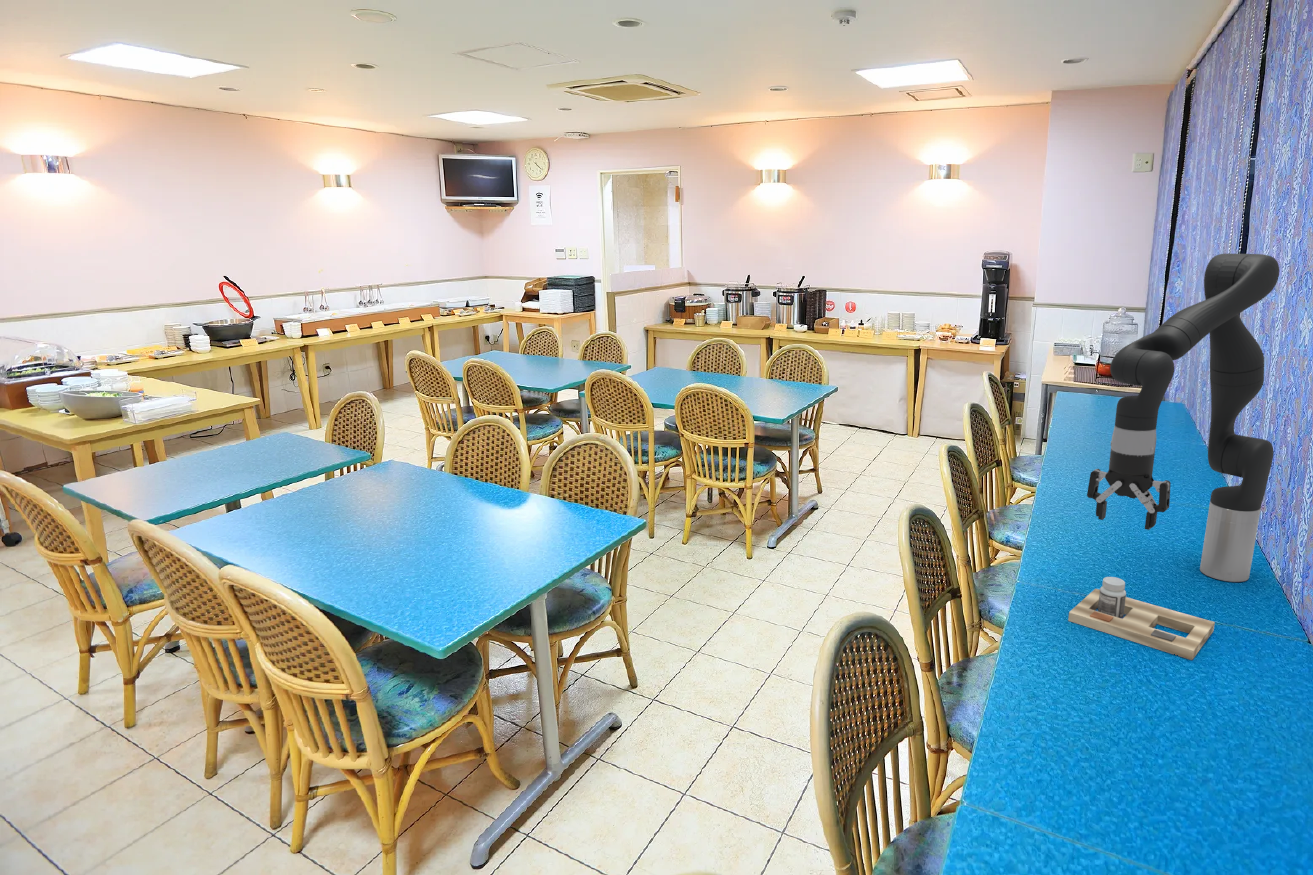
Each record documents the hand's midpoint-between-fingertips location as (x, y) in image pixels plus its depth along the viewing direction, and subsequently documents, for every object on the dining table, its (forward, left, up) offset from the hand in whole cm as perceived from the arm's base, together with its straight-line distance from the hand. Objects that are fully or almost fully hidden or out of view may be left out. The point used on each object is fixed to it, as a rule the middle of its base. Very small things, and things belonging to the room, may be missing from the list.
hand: (1124, 523), depth 154 cm
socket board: (+2, +5, -21) cm, 21 cm away
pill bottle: (+2, 0, -21) cm, 21 cm away
